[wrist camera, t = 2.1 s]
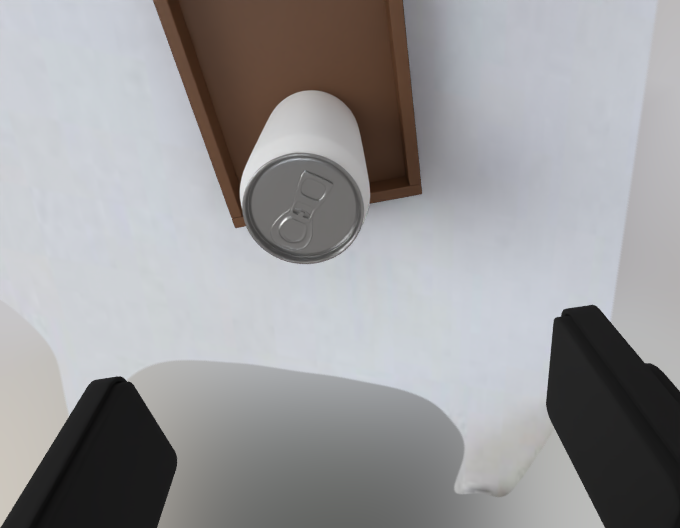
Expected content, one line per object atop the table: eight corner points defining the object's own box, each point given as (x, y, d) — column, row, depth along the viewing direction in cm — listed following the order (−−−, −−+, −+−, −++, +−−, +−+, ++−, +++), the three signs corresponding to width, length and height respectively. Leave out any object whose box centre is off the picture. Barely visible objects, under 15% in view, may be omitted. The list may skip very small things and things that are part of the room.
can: (252, 159, 31) (214, 242, 21) (287, 70, 28) (261, 117, 18) (335, 195, 33) (336, 289, 23) (376, 115, 30) (399, 181, 20)
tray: (144, -65, 25) (127, -70, 23) (384, -125, 23) (389, -136, 21) (240, 214, 34) (235, 228, 32) (416, 181, 33) (422, 194, 31)
